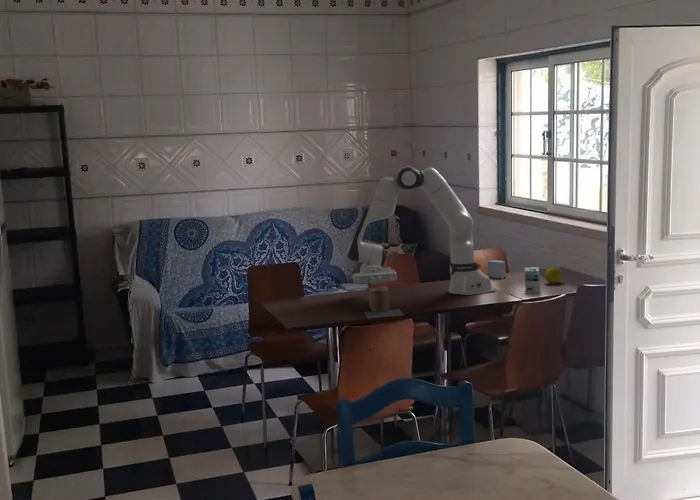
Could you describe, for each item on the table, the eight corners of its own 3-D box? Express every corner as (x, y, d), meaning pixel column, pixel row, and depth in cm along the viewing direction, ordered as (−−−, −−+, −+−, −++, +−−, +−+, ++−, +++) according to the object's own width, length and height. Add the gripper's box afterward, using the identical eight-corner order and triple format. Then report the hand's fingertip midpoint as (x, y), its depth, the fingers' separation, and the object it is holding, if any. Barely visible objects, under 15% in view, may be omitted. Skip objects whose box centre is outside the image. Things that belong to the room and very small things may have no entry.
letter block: (385, 286, 352) (389, 290, 343) (386, 305, 354) (390, 310, 345) (368, 287, 351) (371, 291, 343) (369, 307, 353) (372, 311, 344)
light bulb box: (540, 293, 360) (539, 270, 358) (525, 294, 361) (524, 271, 360) (539, 289, 370) (539, 266, 369) (525, 289, 372) (524, 267, 370)
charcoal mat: (399, 309, 345) (399, 309, 345) (404, 315, 333) (404, 315, 333) (363, 312, 343) (363, 312, 343) (367, 318, 331) (367, 318, 331)
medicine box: (506, 277, 402) (505, 261, 401) (501, 279, 399) (500, 262, 398) (493, 276, 408) (492, 259, 406) (488, 277, 405) (487, 261, 403)
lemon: (551, 286, 375) (551, 269, 374) (540, 283, 382) (539, 267, 381) (568, 282, 380) (568, 266, 379) (556, 280, 387) (556, 264, 386)
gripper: (350, 269, 363) (353, 275, 350) (393, 266, 365) (398, 271, 352) (350, 283, 364) (354, 288, 351) (393, 279, 366) (399, 285, 353)
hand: (376, 280), depth 351 cm, fingers closed
